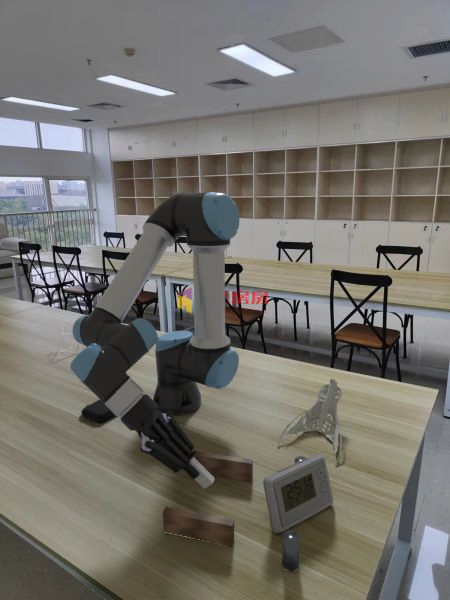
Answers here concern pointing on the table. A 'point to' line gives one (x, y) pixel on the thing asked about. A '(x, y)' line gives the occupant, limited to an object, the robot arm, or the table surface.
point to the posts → (291, 544)
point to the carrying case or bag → (97, 412)
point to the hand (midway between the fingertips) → (209, 483)
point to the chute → (205, 524)
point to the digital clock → (297, 492)
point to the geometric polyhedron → (68, 340)
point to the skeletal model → (321, 415)
